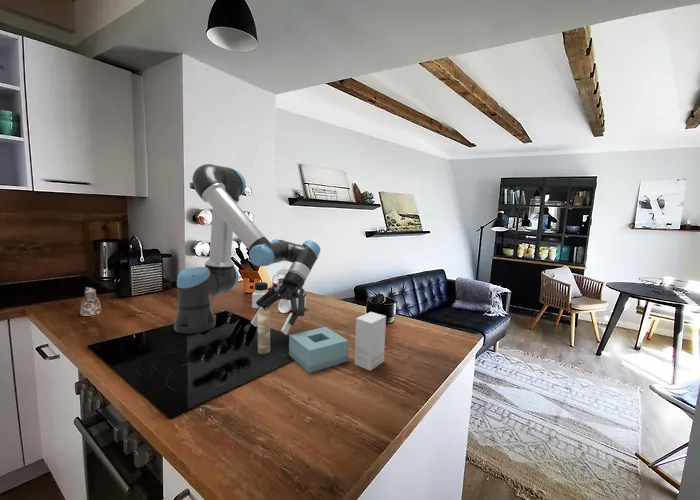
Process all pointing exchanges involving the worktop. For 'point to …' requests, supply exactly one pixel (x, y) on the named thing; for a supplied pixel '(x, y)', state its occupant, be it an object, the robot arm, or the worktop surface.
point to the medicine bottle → (259, 292)
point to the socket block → (318, 349)
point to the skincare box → (370, 340)
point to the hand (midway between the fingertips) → (268, 328)
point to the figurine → (90, 303)
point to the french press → (282, 278)
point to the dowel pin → (263, 331)
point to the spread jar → (287, 305)
